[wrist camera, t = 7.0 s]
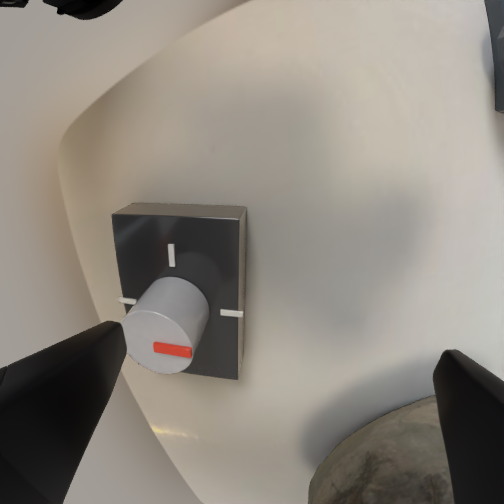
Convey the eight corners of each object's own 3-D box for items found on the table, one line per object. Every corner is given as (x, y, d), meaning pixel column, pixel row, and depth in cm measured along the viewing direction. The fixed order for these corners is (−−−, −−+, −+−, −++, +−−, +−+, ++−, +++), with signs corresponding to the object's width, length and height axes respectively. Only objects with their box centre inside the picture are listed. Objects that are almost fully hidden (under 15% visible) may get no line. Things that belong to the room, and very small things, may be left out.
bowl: (276, 465, 30) (266, 571, 17) (348, 334, 22) (383, 521, 8) (422, 468, 30) (438, 551, 16) (518, 356, 22) (577, 453, 8)
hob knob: (150, 329, 20) (124, 369, 16) (141, 273, 18) (109, 308, 15) (211, 338, 20) (194, 383, 16) (208, 279, 18) (188, 320, 14)
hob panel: (128, 202, 20) (105, 214, 17) (251, 206, 19) (244, 219, 16) (147, 341, 25) (133, 365, 22) (246, 355, 24) (241, 382, 21)
